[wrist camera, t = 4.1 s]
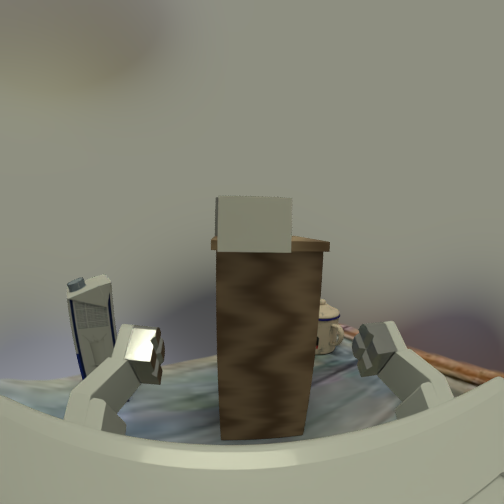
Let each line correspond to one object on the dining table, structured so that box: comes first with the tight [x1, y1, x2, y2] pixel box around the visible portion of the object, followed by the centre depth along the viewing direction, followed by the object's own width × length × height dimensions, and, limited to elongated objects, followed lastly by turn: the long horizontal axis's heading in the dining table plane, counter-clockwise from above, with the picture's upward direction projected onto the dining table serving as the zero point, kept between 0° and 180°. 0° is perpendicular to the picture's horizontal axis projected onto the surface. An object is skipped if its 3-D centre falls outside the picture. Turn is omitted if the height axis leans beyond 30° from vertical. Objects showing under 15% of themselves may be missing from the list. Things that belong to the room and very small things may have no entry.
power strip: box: [215, 196, 292, 253], centre depth 27 cm, size 6×26×5 cm, turn 5°
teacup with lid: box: [315, 299, 344, 355], centre depth 58 cm, size 12×9×12 cm
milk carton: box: [67, 274, 129, 402], centre depth 35 cm, size 7×7×20 cm
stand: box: [211, 236, 330, 440], centre depth 36 cm, size 12×15×26 cm
